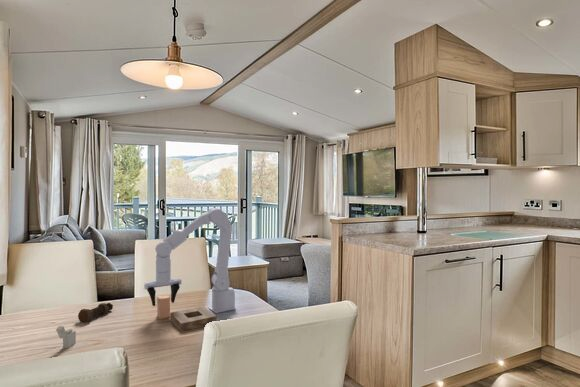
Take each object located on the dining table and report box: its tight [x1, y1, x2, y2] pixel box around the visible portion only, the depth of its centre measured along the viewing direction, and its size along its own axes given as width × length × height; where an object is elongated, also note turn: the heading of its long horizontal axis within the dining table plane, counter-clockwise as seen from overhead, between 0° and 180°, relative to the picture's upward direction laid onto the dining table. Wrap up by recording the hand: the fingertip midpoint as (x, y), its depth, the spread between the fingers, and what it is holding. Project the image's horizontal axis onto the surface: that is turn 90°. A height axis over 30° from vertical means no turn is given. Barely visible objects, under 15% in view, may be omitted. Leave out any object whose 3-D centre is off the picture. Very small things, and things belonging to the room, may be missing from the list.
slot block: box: [169, 306, 218, 332], centre depth 146 cm, size 14×14×3 cm
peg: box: [156, 294, 171, 320], centre depth 153 cm, size 4×4×8 cm
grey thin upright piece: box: [55, 325, 77, 349], centre depth 123 cm, size 7×2×8 cm, turn 173°
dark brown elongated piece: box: [77, 302, 114, 324], centre depth 153 cm, size 6×5×15 cm
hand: (163, 303), depth 153 cm, fingers open, 7 cm apart
